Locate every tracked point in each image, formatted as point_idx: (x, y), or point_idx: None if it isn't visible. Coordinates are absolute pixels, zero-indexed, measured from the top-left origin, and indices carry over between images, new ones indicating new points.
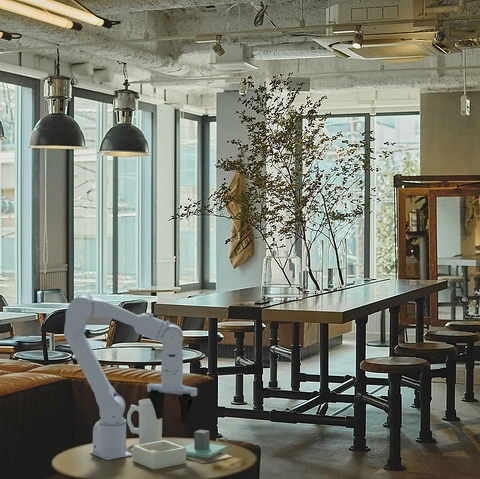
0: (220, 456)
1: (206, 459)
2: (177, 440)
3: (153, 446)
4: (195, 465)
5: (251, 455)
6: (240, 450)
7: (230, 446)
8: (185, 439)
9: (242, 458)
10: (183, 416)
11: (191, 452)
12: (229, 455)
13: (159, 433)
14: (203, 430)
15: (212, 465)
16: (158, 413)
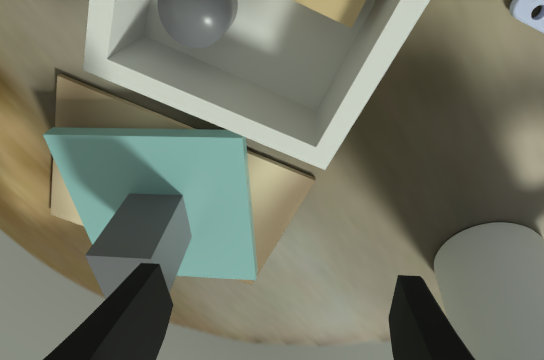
0: None
1: None
2: (386, 316)
3: (358, 62)
4: (59, 26)
5: (33, 255)
6: None
7: (172, 312)
8: (363, 331)
9: (20, 216)
10: (102, 303)
11: (147, 135)
12: (69, 219)
13: (448, 295)
14: None
15: (3, 72)
16: (412, 327)
